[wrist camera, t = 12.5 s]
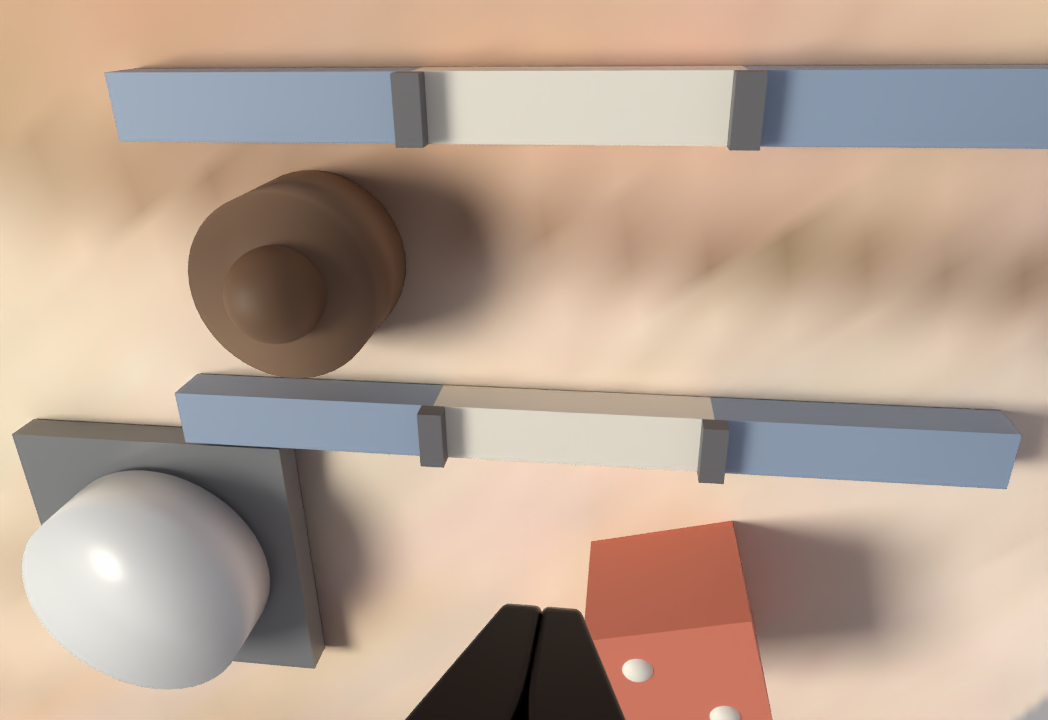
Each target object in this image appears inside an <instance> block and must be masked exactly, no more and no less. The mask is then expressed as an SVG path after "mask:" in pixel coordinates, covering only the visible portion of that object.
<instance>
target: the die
mask: <svg viewBox="0 0 1048 720" xmlns="http://www.w3.org/2000/svg"><path fill="white" fill-rule="evenodd" d="M585 622H586V625H587V627H588V630H589V632H590V634H591V637H592V639H593V642H594V644H595V647H596V649H597V651H598V654H599V656H600V659H601V661H602V664H603V666H604V668H605V671H606V673H607V676H608V678H609V680H610V683H611V685H612V688H613V690H614V693H615V695H616V697H617V700H618V702H619V705H620V707H621V710H622V712H623V714H624V717H625V719H626V720H772V715H771V710H770V704H769V699H768V694H767V689H766V683H765V678H764V673H763V668H762V663H761V657H760V652H759V647H758V642H757V636H756V631H755V626H754V622H753V617H752V612H751V607H750V603H749V598H748V593H747V588H746V583H745V579H744V574H743V569H742V564H741V560H740V555H739V550H738V545H737V541H736V536H735V531H734V526H733V522H732V521H727V522H721V523H714V524H707V525H700V526H694V527H687V528H680V529H673V530H666V531H660V532H653V533H646V534H639V535H633V536H626V537H619V538H612V539H605V540H599V541H592V542H591V551H590V563H589V575H588V587H587V599H586V611H585Z"/></svg>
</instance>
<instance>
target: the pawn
mask: <svg viewBox="0 0 1048 720" xmlns="http://www.w3.org/2000/svg"><path fill="white" fill-rule="evenodd" d="M405 275H406V259H405V251H404V247H403V242H402V239H401V237H400V234H399V231H398V229H397V227H396V225H395V223H394V221H393V219H392V218H391V216H390V215H389V213H388V212H387V210H386V209H385V208H384V207H383V206H382V205H381V203H380V202H379V201H378V200H377V199H376V198H375V197H374V196H373V195H371V194H370V193H369V192H368V191H367V190H365V189H364V188H362V187H361V186H360V185H358V184H356V183H354V182H352V181H351V180H349V179H346V178H344V177H341V176H339V175H336V174H332V173H328V172H322V171H298V172H292V173H289V174H285V175H282V176H280V177H278V178H276V179H274V180H272V181H270V182H268V183H266V184H264V185H262V186H260V187H258V188H256V189H253V190H251V191H249V192H247V193H245V194H243V195H241V196H239V197H237V198H235V199H233V200H231V201H229V202H227V203H225V204H223V205H222V206H220V207H219V208H217V209H216V210H215V211H214V212H213V213H211V214H210V215H209V216H208V217H207V218H206V220H205V221H204V222H203V224H202V225H201V226H200V228H199V230H198V232H197V233H196V235H195V237H194V240H193V243H192V246H191V249H190V255H189V262H188V276H189V285H190V290H191V294H192V297H193V300H194V303H195V306H196V308H197V310H198V312H199V315H200V317H201V319H202V320H203V322H204V323H205V325H206V326H207V328H208V329H209V331H210V332H211V333H212V335H213V336H214V337H215V338H216V339H217V340H218V341H219V343H220V344H221V345H222V346H223V347H224V348H226V349H227V350H228V351H229V352H230V353H232V354H233V355H234V356H235V357H237V358H238V359H240V360H241V361H243V362H244V363H246V364H248V365H250V366H252V367H254V368H256V369H258V370H261V371H263V372H266V373H269V374H273V375H276V376H281V377H288V378H308V377H315V376H320V375H324V374H326V373H329V372H332V371H334V370H336V369H338V368H340V367H341V366H343V365H344V364H346V363H347V362H348V361H350V360H351V359H352V358H353V357H354V356H355V355H356V354H357V353H358V352H359V351H360V349H361V348H362V347H363V346H364V344H365V343H366V342H367V341H368V339H369V338H370V337H371V336H372V334H373V333H374V332H375V331H376V329H377V328H378V327H379V326H380V324H381V323H382V322H383V321H384V319H385V318H386V317H387V316H388V314H389V313H390V312H391V310H392V309H393V307H394V306H395V304H396V303H397V301H398V299H399V297H400V295H401V292H402V289H403V286H404V280H405Z"/></svg>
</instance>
